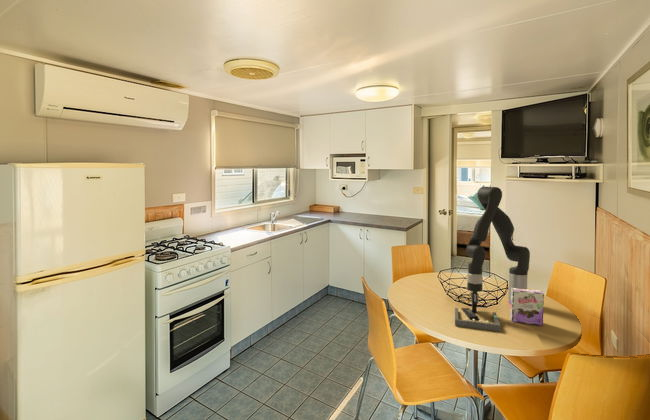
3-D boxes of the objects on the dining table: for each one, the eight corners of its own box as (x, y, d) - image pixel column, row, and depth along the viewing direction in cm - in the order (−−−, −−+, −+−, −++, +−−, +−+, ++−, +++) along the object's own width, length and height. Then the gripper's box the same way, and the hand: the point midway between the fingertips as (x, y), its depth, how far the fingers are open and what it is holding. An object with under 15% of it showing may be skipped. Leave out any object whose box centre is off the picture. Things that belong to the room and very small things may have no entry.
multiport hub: (470, 321, 172) (470, 316, 172) (460, 311, 187) (460, 307, 187) (478, 321, 172) (478, 317, 172) (468, 312, 187) (468, 307, 186)
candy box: (511, 322, 171) (512, 290, 170) (510, 318, 176) (510, 287, 176) (543, 325, 166) (544, 293, 165) (540, 321, 171) (541, 290, 170)
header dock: (454, 313, 183) (454, 305, 183) (495, 318, 176) (496, 310, 176) (454, 325, 165) (455, 317, 165) (500, 332, 158) (501, 323, 157)
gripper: (467, 278, 189) (466, 308, 190) (467, 283, 177) (467, 316, 177) (481, 279, 186) (480, 310, 187) (483, 285, 174) (482, 318, 175)
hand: (474, 313), depth 182 cm, fingers closed
